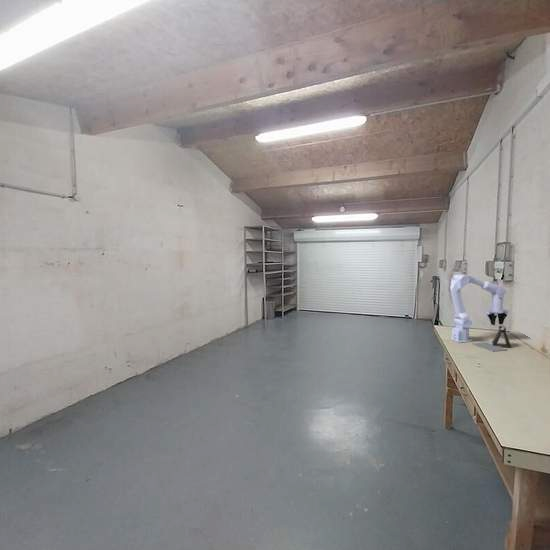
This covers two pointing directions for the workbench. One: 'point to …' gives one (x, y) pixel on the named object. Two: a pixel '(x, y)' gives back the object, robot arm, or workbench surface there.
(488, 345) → the mat
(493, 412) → the workbench surface
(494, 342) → the phone stand
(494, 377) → the workbench surface
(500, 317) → the robot arm
